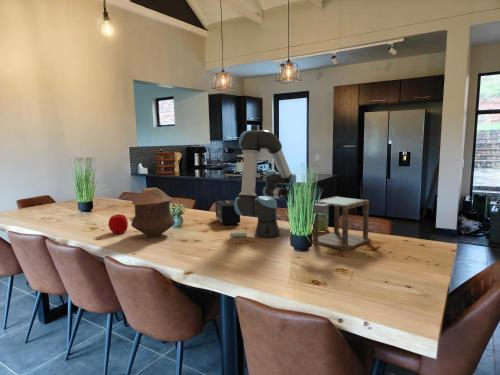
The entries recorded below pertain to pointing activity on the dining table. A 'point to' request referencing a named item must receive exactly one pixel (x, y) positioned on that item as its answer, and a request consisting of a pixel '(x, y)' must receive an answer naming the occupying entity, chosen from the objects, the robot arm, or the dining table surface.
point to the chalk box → (322, 222)
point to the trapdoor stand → (343, 238)
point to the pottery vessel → (152, 212)
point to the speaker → (226, 212)
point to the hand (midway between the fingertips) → (305, 197)
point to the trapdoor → (336, 201)
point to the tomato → (118, 224)
